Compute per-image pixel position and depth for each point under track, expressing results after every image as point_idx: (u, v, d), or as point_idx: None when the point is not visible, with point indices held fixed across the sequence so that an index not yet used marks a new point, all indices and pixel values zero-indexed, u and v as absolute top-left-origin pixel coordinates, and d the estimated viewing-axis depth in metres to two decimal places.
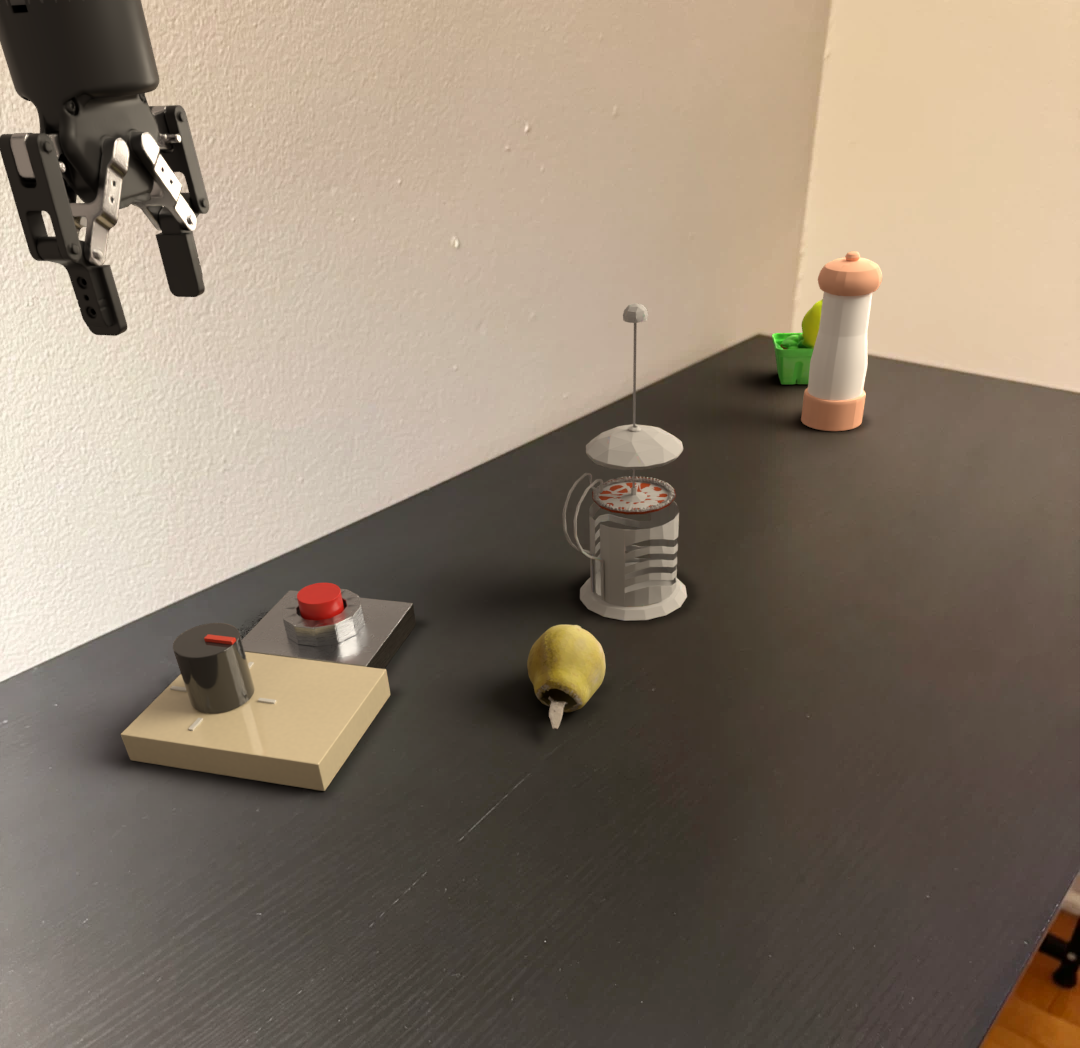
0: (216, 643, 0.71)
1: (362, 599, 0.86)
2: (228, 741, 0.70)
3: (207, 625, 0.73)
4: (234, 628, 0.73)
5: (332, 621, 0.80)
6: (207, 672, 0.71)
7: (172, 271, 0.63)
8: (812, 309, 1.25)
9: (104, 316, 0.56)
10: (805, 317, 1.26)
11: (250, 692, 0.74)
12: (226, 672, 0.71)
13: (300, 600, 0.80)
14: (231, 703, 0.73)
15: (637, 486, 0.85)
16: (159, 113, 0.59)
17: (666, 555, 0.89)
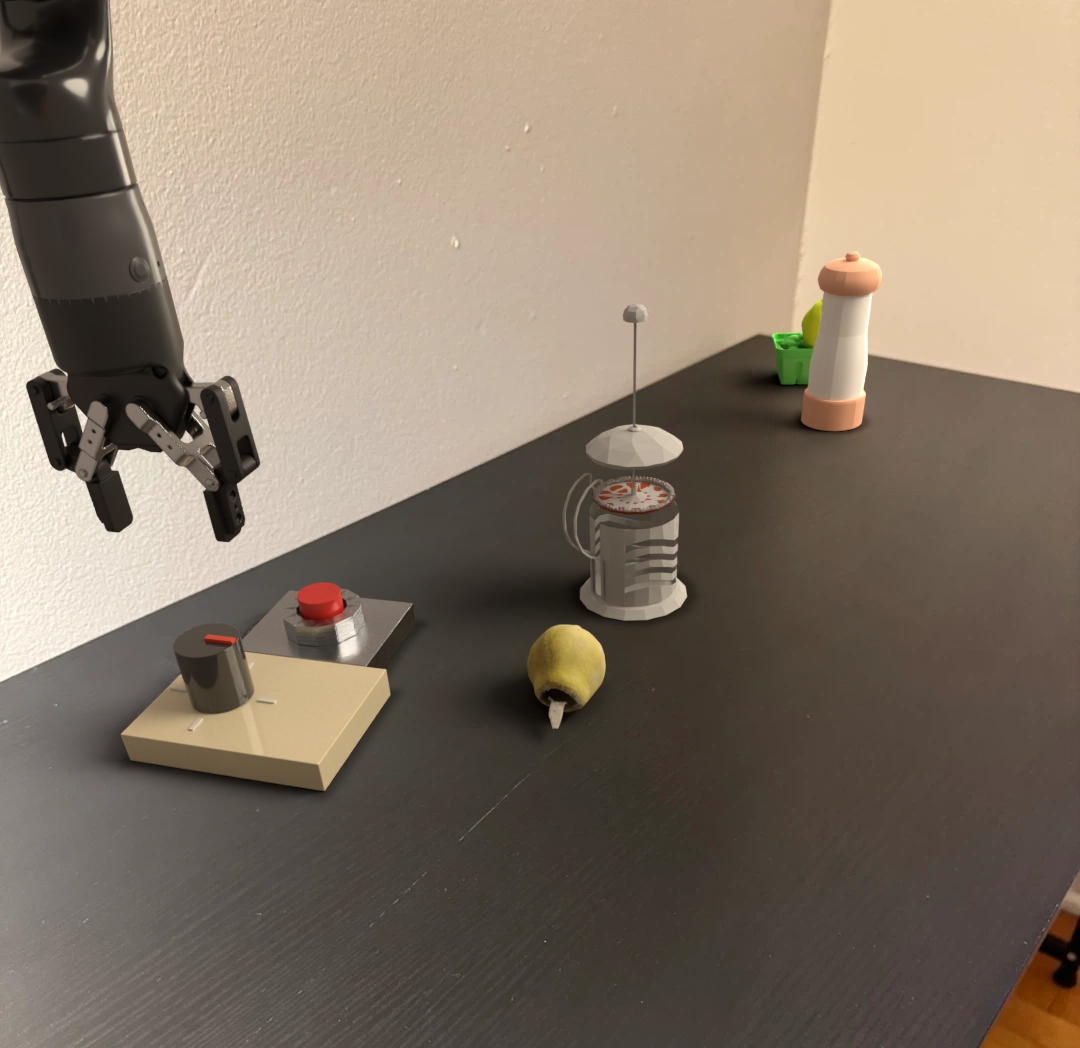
0: (216, 643, 0.71)
1: (362, 599, 0.86)
2: (228, 741, 0.70)
3: (207, 625, 0.73)
4: (234, 628, 0.73)
5: (332, 621, 0.80)
6: (207, 672, 0.71)
7: None
8: (812, 309, 1.25)
9: (99, 514, 0.67)
10: (805, 317, 1.26)
11: (250, 692, 0.74)
12: (226, 672, 0.71)
13: (300, 600, 0.80)
14: (231, 703, 0.73)
15: (637, 486, 0.85)
16: (199, 388, 0.59)
17: (666, 555, 0.89)
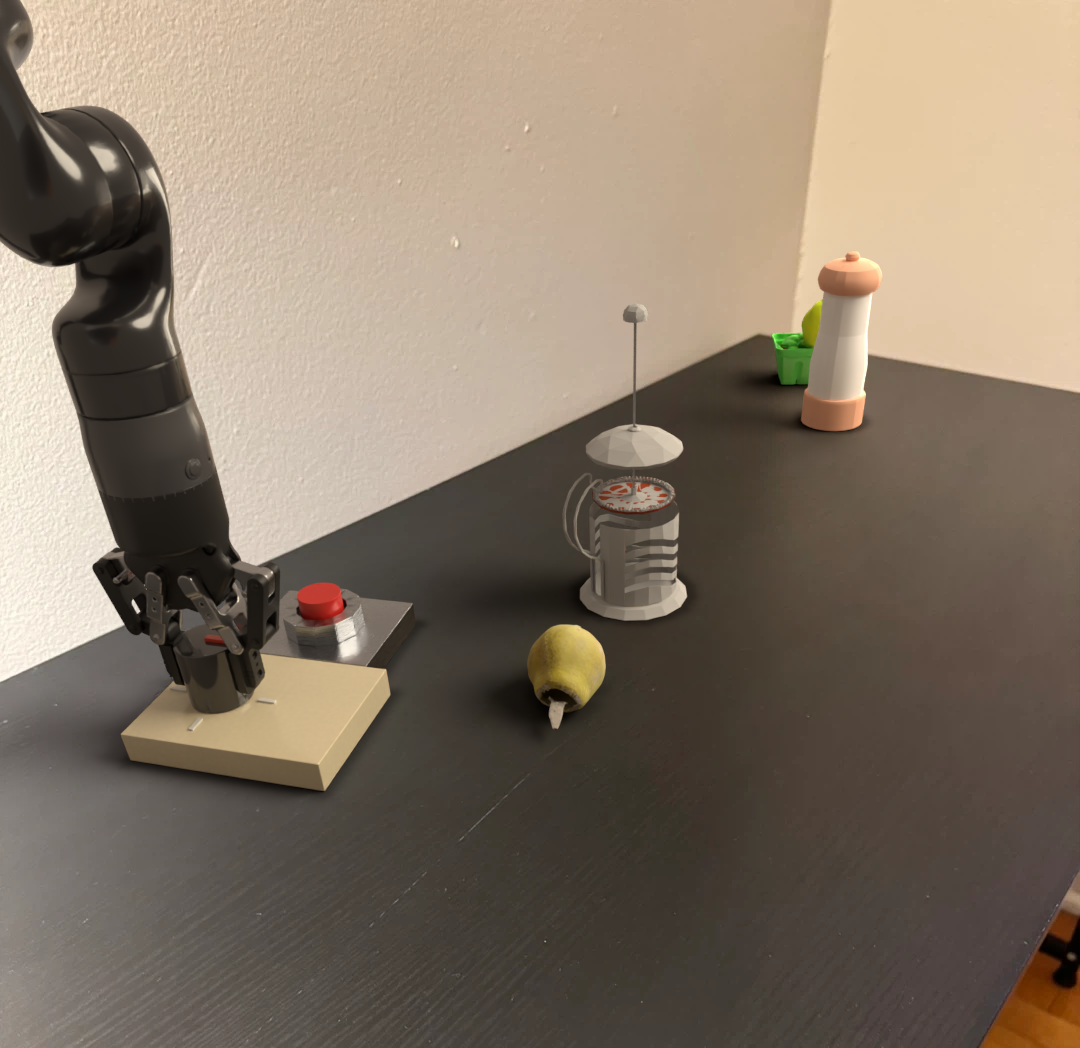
0: (216, 643, 0.71)
1: (362, 599, 0.86)
2: (228, 741, 0.70)
3: None
4: None
5: (332, 621, 0.80)
6: (207, 672, 0.71)
7: None
8: (812, 309, 1.25)
9: (168, 670, 0.74)
10: (805, 317, 1.26)
11: None
12: (226, 672, 0.71)
13: (300, 600, 0.80)
14: (231, 703, 0.73)
15: (637, 486, 0.85)
16: (246, 572, 0.66)
17: (666, 555, 0.89)
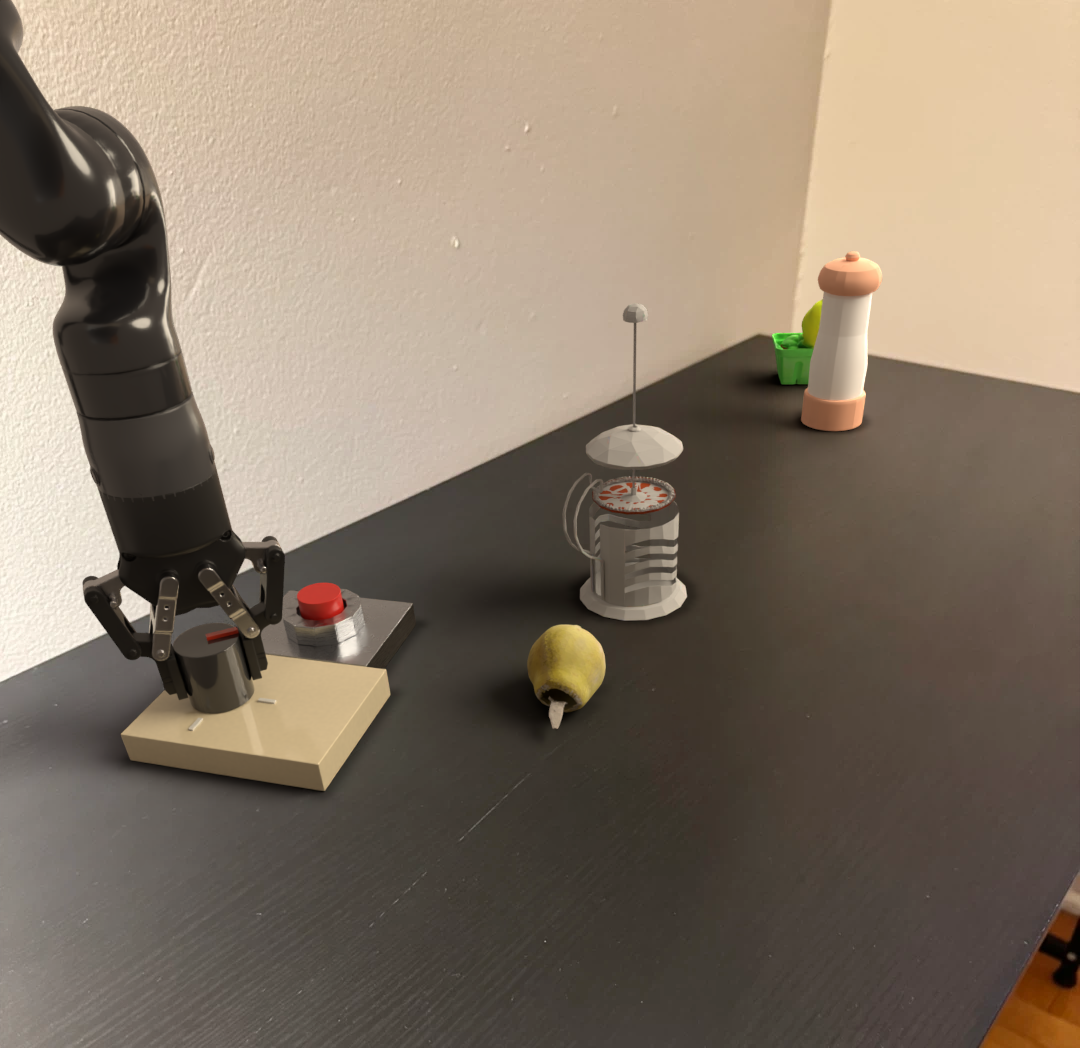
0: (220, 637, 0.72)
1: (362, 599, 0.86)
2: (228, 741, 0.70)
3: (189, 631, 0.73)
4: (220, 623, 0.73)
5: (332, 621, 0.80)
6: (229, 665, 0.71)
7: None
8: (812, 309, 1.25)
9: (167, 688, 0.72)
10: (805, 317, 1.26)
11: (252, 680, 0.75)
12: (242, 661, 0.72)
13: (300, 600, 0.80)
14: (248, 692, 0.74)
15: (637, 486, 0.85)
16: (259, 548, 0.69)
17: (666, 555, 0.89)
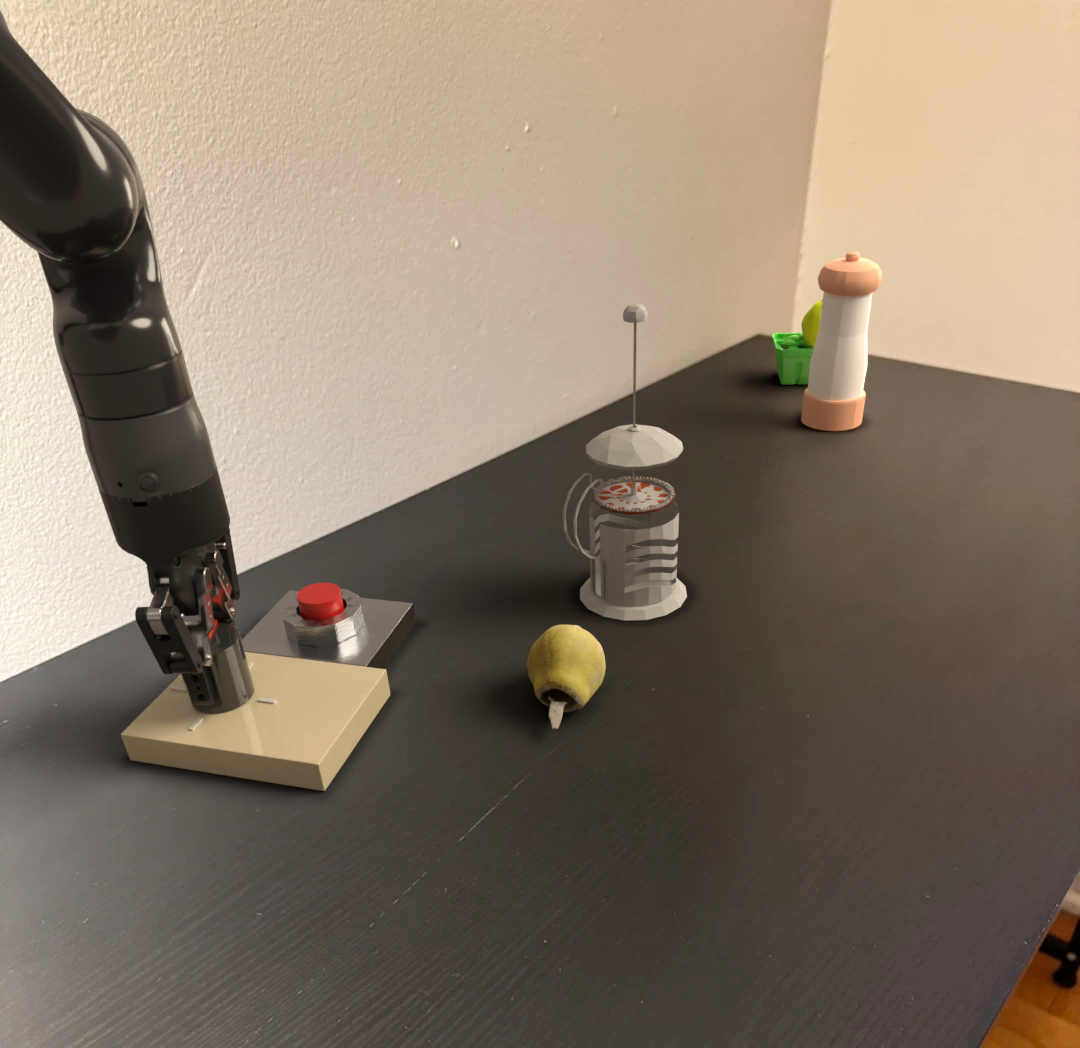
0: (213, 631, 0.72)
1: (362, 599, 0.86)
2: (228, 741, 0.70)
3: None
4: None
5: (332, 621, 0.80)
6: None
7: None
8: (812, 309, 1.25)
9: (211, 698, 0.70)
10: (805, 317, 1.26)
11: None
12: None
13: (300, 600, 0.80)
14: None
15: (637, 486, 0.85)
16: None
17: (666, 555, 0.89)
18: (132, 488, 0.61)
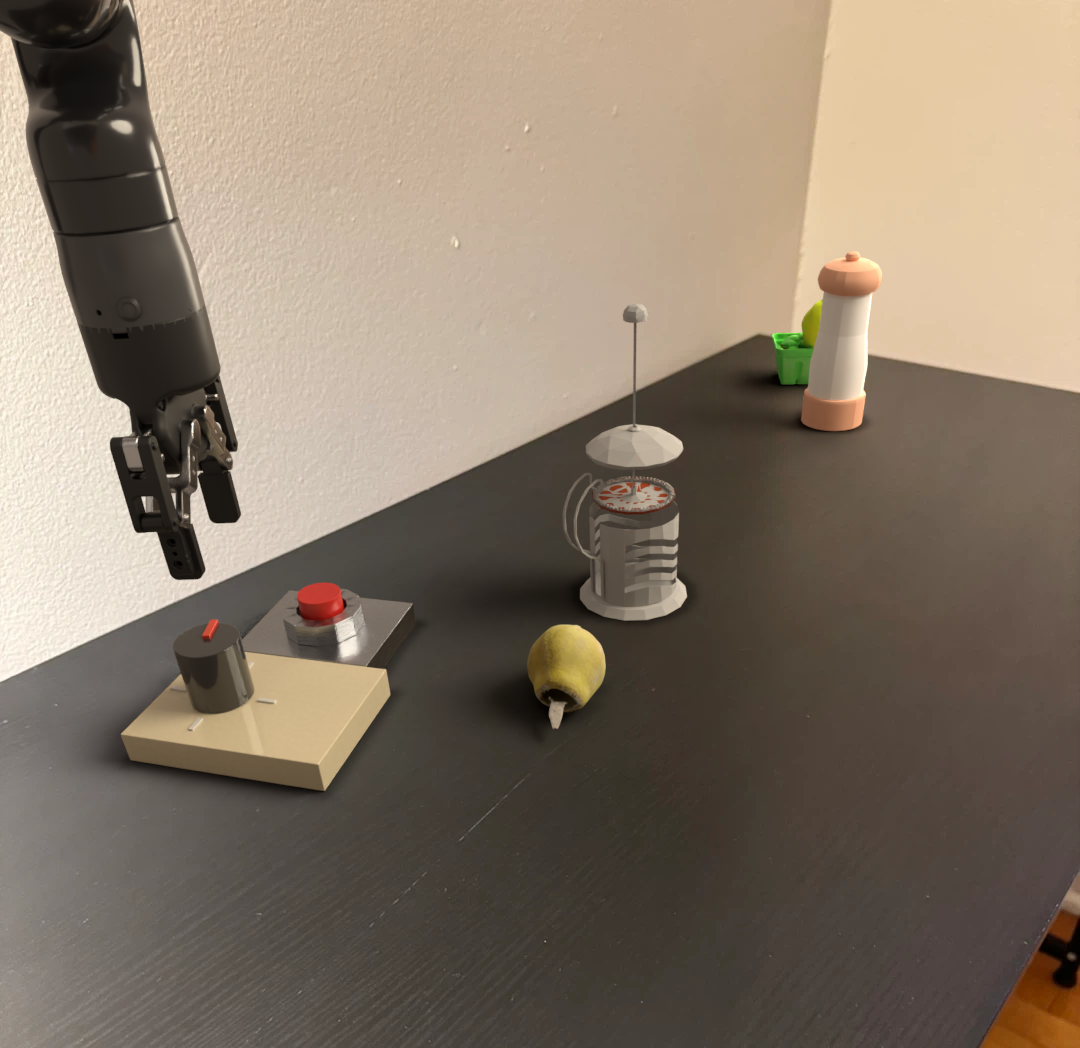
0: (213, 631, 0.72)
1: (362, 599, 0.86)
2: (228, 741, 0.70)
3: (177, 647, 0.71)
4: (187, 630, 0.73)
5: (332, 621, 0.80)
6: None
7: (212, 504, 0.71)
8: (812, 309, 1.25)
9: (190, 566, 0.64)
10: (805, 317, 1.26)
11: None
12: None
13: (300, 600, 0.80)
14: None
15: (637, 486, 0.85)
16: None
17: (666, 555, 0.89)
18: (112, 316, 0.56)
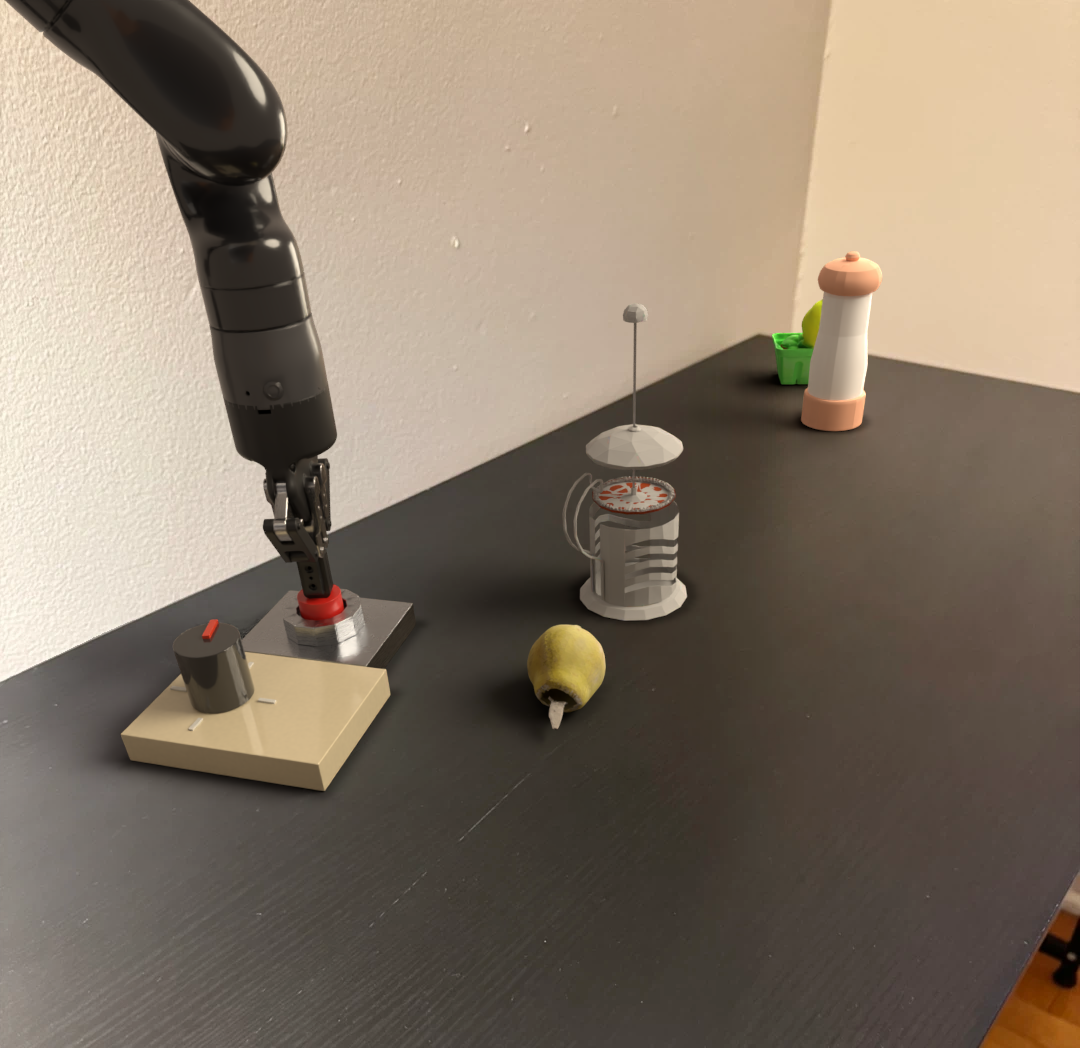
0: (213, 631, 0.72)
1: (362, 599, 0.86)
2: (228, 741, 0.70)
3: (177, 647, 0.71)
4: (187, 630, 0.73)
5: (332, 621, 0.80)
6: None
7: None
8: (812, 309, 1.25)
9: (322, 588, 0.79)
10: (805, 317, 1.26)
11: None
12: None
13: (300, 600, 0.80)
14: None
15: (637, 486, 0.85)
16: None
17: (666, 555, 0.89)
18: (258, 396, 0.67)
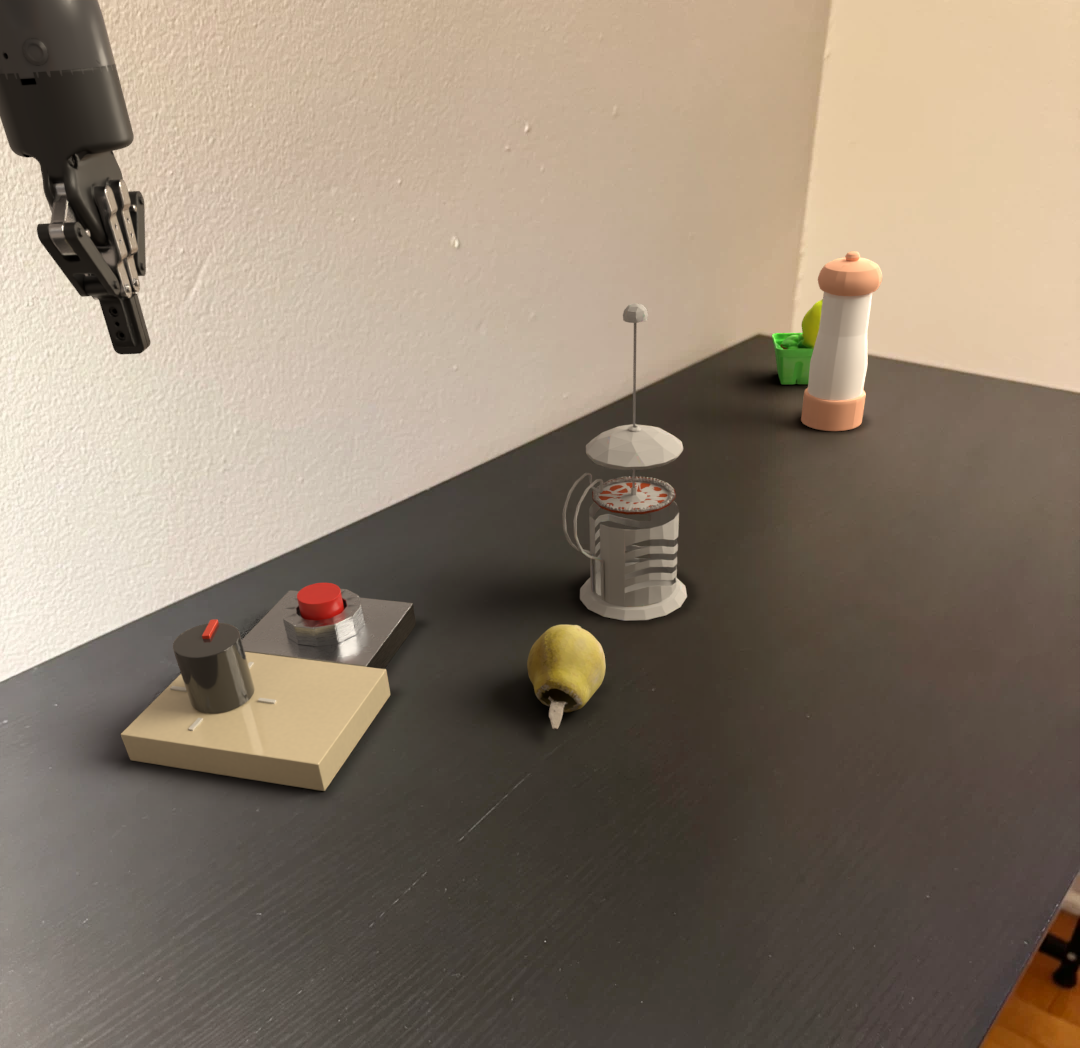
0: (213, 631, 0.72)
1: (362, 599, 0.86)
2: (228, 741, 0.70)
3: (177, 647, 0.71)
4: (187, 630, 0.73)
5: (332, 621, 0.80)
6: None
7: None
8: (812, 309, 1.25)
9: (132, 338, 0.69)
10: (805, 317, 1.26)
11: None
12: None
13: (300, 600, 0.80)
14: None
15: (637, 486, 0.85)
16: None
17: (666, 555, 0.89)
18: (18, 59, 0.57)
